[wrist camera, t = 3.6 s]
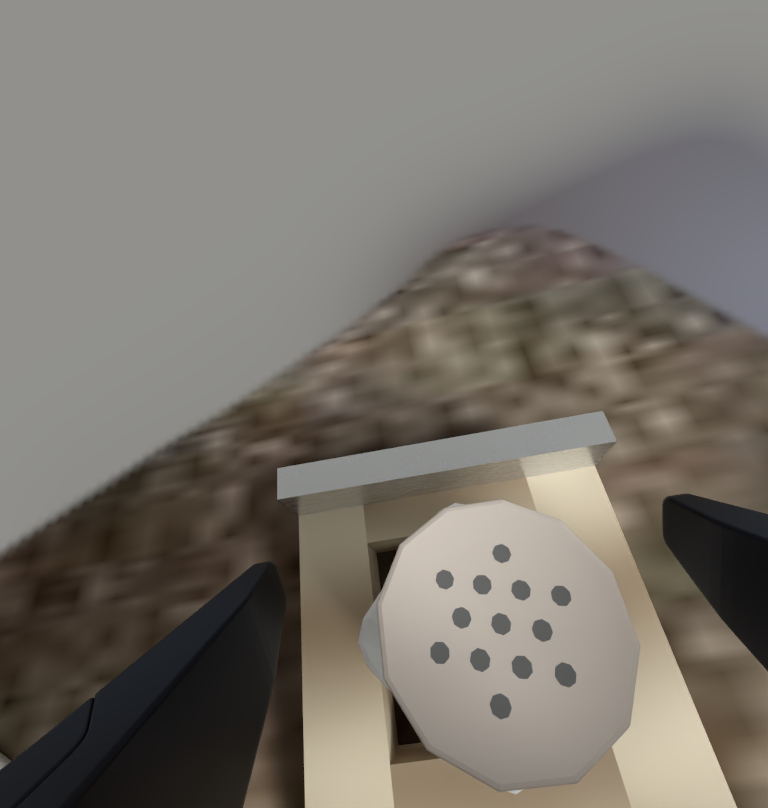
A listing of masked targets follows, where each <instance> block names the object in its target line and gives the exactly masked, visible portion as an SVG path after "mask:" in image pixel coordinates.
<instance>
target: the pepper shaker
mask: <svg viewBox="0 0 768 808" xmlns="http://www.w3.org/2000/svg"><path fill="white" fill-rule="evenodd" d="M358 644H359V647H360V650H361V652H362V655H363V657H364V660H365V663H366V665H367V667H368V668H369V669H370V670H371V671H372V672H373V673H374V674H375V675H376V676H377V677H378V678H379V679H380V680H381V682H382V683H383V684H384V685H385V686H386V687H387V688H388V689H389V690H390V691H391V692H392V694H393V696H394V697H395V699H396V701H397V702H398V704H399V706H400V707H401V709H402V711H403V712H404V714H405V715H406V717H407V719H408V720H409V722H410V724H411V725H412V727H413V729H414V730H415V732H416V734H417V735H418V737H419V739H420V740H421V742H422V743H423V745H424V747H425V748H426V750H427V751H429V752H431V753H432V754H434V755H436V756H438V757H439V758H441V759H443V760H445V761H446V762H448V763H450V764H451V765H453V766H455V767H457V768H458V769H460V770H462V771H464V772H465V773H467V774H469V775H470V776H472V777H474V778H476V779H477V780H479V781H481V782H483V783H484V784H486V785H488V786H490V787H491V788H493V789H495V790H496V791H498V792H504V791H507V792H510V793H513V794H517V793H519V792H520V791H522V790H524V789H532V788H541V787H551V786H560V785H569V784H578V782H579V781H580V780H581V779H582V778H583V777H584V776H585V775H586V774H587V773H588V772H589V771H590V769H591V768H592V767H593V766H594V765H595V764H596V763H597V762H598V761H599V760H600V759H601V758H602V756H603V755H604V754H605V753H606V752H607V751H608V750H609V749H610V748H611V747H612V746H613V744H614V743H615V742H616V741H617V740H618V739H619V738H620V737H621V736H622V735H623V734H624V733H625V731H626V730H627V729H628V728H629V727H630V724H631V716H632V708H633V700H634V693H635V685H636V677H637V669H638V661H639V653H640V643H639V641H638V638H637V635H636V633H635V630H634V627H633V625H632V622H631V619H630V617H629V614H628V611H627V609H626V606H625V603H624V601H623V598H622V595H621V593H620V590H619V587H618V585H617V582H616V579H615V577H614V574H613V571H612V570H611V569H610V568H609V567H608V566H607V565H606V564H605V563H604V562H603V561H602V560H601V559H600V558H599V557H598V556H597V555H596V554H595V553H594V552H593V551H592V550H591V549H590V548H589V547H588V546H587V545H586V544H585V543H584V542H583V541H582V540H581V539H580V538H579V537H578V536H577V535H576V534H575V533H574V532H573V531H572V530H571V529H570V528H569V527H568V526H567V525H566V524H565V523H564V522H563V521H562V520H559V519H556V518H554V517H551V516H548V515H545V514H542V513H539V512H537V511H534V510H531V509H528V508H525V507H523V506H520V505H517V504H514V503H511V502H508V501H506V500H503V499H498V500H491V501H485V502H478V503H472V504H459V503H454V504H452V505H450V506H448V507H446V508H443V509H442V510H441V511H439V512H438V513H437V514H436V515H435V516H434V517H432V518H431V519H430V520H429V521H428V522H426V523H425V524H424V525H423V526H421V527H420V528H419V529H418V530H417V531H415V532H414V533H413V534H412V535H410V536H409V537H408V538H407V539H406V540H404V541H403V542H402V543H401V544H400V545H399V547H398V550H397V552H396V555H395V558H394V560H393V563H392V565H391V568H390V570H389V573H388V576H387V578H386V581H385V583H384V586H383V588H382V590H381V592H380V593H379V595H378V596H377V598H376V599H375V601H374V603H373V604H372V606H371V607H370V609H369V610H368V612H367V613H366V615H365V616H364V618H363V621H362V626H361V630H360V635H359V640H358Z"/></svg>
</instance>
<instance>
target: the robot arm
mask: <svg viewBox="0 0 768 808" xmlns="http://www.w3.org/2000/svg"><path fill="white" fill-rule="evenodd" d="M662 529H663V537H664V540H665V543H666V545H667V546H668V548H669V549H670V550H671V552H672V553H673V554H674V556H675V557H676V559H677V560H678V561H679V563H680V564H681V565H682V567H683V568H684V569H685V571H686V572H687V574H688V575H689V576H690V578H691V579H692V580H693V582H694V583H695V584H696V586H697V587H698V588H699V590H700V591H701V593H702V594H703V595H704V597H705V598H706V599H707V601H708V602H709V603H710V605H711V606H712V607H713V609H714V610H715V611H716V612H717V614H718V615H719V616H720V617H721V619H722V620H723V621H724V622H725V623H726V624H727V626H728V627H729V628H730V629H731V630H732V631H733V633H734V634H735V635H736V636H737V637H738V638H739V639H740V641H741V642H742V643H743V644H744V645H745V646H746V647H747V648H748V650H749V651H750V652H751V653H752V654H753V655H754V656H755V657H756V659H757V660H758V661H759V662H760V663H761V664H762V665H763V667H764V668H765V669H766V670H767V671H768V514H765V513H761V512H757V511H753V510H749V509H745V508H741V507H738V506H734V505H730V504H726V503H722V502H718V501H714V500H710V499H706V498H703V497H699V496H695V495H691V494H680V495H674V496H668V497H666V498H665V499H664V500H663V502H662ZM285 608H286V596H285V592H284V588H283V585H282V582H281V578H280V575H279V572H278V569H277V566H276V565H275V563H274V562H264V563H258V564H255V565H253V566H252V567H250V568H249V569H248V570H247V571H245V572H244V573H243V574H242V575H241V576H239V577H238V578H237V579H236V580H234V581H233V582H232V583H231V584H230V585H228V586H227V587H226V588H225V589H223V590H222V591H221V592H220V593H219V594H217V595H216V596H215V597H214V598H212V599H211V600H210V601H209V602H208V603H206V604H205V605H204V606H203V607H201V608H200V609H199V610H198V611H197V612H195V613H194V614H193V615H192V616H190V617H189V618H188V619H187V620H186V621H184V622H183V623H182V624H181V625H179V626H178V627H177V628H176V629H175V630H173V631H172V632H171V633H170V634H168V635H167V636H166V637H165V638H164V639H162V640H161V641H160V642H159V643H157V644H156V645H155V646H154V647H153V648H151V649H150V650H149V651H148V652H146V653H145V654H144V655H143V656H142V657H140V658H139V659H138V660H137V661H135V662H134V663H133V664H132V665H131V666H129V667H128V668H127V669H126V670H124V671H123V672H122V673H121V674H120V675H118V676H117V677H116V678H115V679H113V680H112V681H111V682H110V683H109V684H107V685H106V686H105V687H104V688H102V689H101V690H100V691H99V692H98V693H97V694H96V695H95V698H90V699H89V700H88V701H86V702H85V703H84V704H83V705H82V706H80V707H79V708H78V709H77V710H75V711H74V712H73V713H72V714H71V715H69V716H68V717H67V718H66V719H64V720H63V721H62V722H61V723H59V724H58V725H57V726H56V727H54V728H53V729H52V730H51V731H49V732H48V733H47V734H46V735H44V736H43V737H42V738H41V739H39V740H38V741H37V742H36V743H34V744H33V745H32V746H31V747H29V748H28V749H27V750H25V751H24V752H23V753H22V754H20V755H19V756H18V757H16V758H15V759H14V760H12V761H11V762H10V763H8V764H7V765H6V766H4V767H3V768H2V769H1V770H0V808H243V805H244V801H245V797H246V793H247V789H248V785H249V781H250V777H251V774H252V770H253V766H254V762H255V758H256V754H257V750H258V746H259V742H260V738H261V734H262V730H263V726H264V722H265V718H266V714H267V710H268V706H269V702H270V698H271V694H272V690H273V685H274V681H275V675H276V669H277V662H278V656H279V649H280V642H281V635H282V628H283V621H284V615H285Z"/></svg>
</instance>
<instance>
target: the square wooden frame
mask: <svg viewBox="0 0 768 808" xmlns="http://www.w3.org/2000/svg"><path fill="white" fill-rule="evenodd" d="M616 442H617V441H616V439H615V436H614V434H613V432H612V430H611V428H610V425H609V423H608V421H607V419H606V417H605V415H604V412H603V411H600V412H594V413H588V414H583V415H577V416H571V417H566V418H560V419H554V420H549V421H543V422H537V423H532V424H526V425H520V426H515V427H509V428H503V429H498V430H492V431H486V432H481V433H475V434H469V435H464V436H458V437H452V438H447V439H441V440H435V441H429V442H424V443H418V444H412V445H407V446H401V447H395V448H390V449H384V450H378V451H373V452H367V453H361V454H356V455H350V456H344V457H339V458H333V459H327V460H322V461H316V462H310V463H305V464H299V465H293V466H288V467H282V468H277V500H278V501H280V502H281V503H282V504H284V505H285V506H286V507H288V508H289V509H290V510H292V511H293V512H294V513H296V514H297V515H298V516H299V550H300V596H301V643H302V690H303V737H304V783H305V808H737V807H736V804H735V802H734V799H733V797H732V794H731V792H730V790H729V787H728V785H727V782H726V780H725V778H724V775H723V773H722V770H721V768H720V766H719V763H718V761H717V758H716V756H715V754H714V751H713V749H712V746H711V744H710V742H709V739H708V737H707V734H706V732H705V730H704V727H703V725H702V722H701V720H700V718H699V715H698V713H697V710H696V708H695V706H694V703H693V701H692V698H691V696H690V693H689V691H688V689H687V686H686V684H685V681H684V679H683V677H682V674H681V672H680V669H679V667H678V665H677V662H676V660H675V657H674V655H673V653H672V650H671V648H670V645H669V643H668V641H667V638H666V636H665V633H664V631H663V629H662V626H661V624H660V621H659V619H658V617H657V614H656V612H655V609H654V607H653V605H652V602H651V600H650V597H649V595H648V592H647V590H646V588H645V585H644V583H643V580H642V578H641V576H640V573H639V571H638V568H637V566H636V564H635V561H634V559H633V556H632V554H631V552H630V549H629V547H628V544H627V542H626V540H625V537H624V535H623V532H622V530H621V528H620V525H619V523H618V520H617V518H616V516H615V513H614V511H613V508H612V506H611V504H610V501H609V499H608V496H607V494H606V491H605V489H604V487H603V484H602V482H601V479H600V477H599V475H598V472H597V470H596V467H595V465H596V464H597V463H598V462H599V461H600V460H601V459H602V457H603V456H604V455H605V454H606V453H607V452H608V451H609V450H610V448H611V447H612V446H613V445H614V444H615V443H616ZM498 499H503V500H506V501H508V502H511V503H514V504H517V505H520V506H523V507H525V508H528V509H531V510H534V511H537V512H539V513H542V514H545V515H548V516H551V517H554V518H556V519H559V520H562V521H563V522H564V523H565V524H566V525H567V526H568V527H569V528H570V529H571V530H572V531H573V532H574V533H575V534H576V535H577V536H578V537H579V538H580V539H581V540H582V541H583V542H584V543H585V544H586V545H587V546H588V547H589V548H590V549H591V550H592V551H593V552H594V553H595V554H596V555H597V556H598V557H599V558H600V559H601V560H602V561H603V562H604V563H605V564H606V565H607V566H608V567H609V568H610V569H611V570H612V571H613V574H614V577H615V579H616V582H617V585H618V587H619V590H620V593H621V595H622V598H623V601H624V603H625V606H626V609H627V611H628V614H629V617H630V619H631V622H632V625H633V627H634V630H635V633H636V635H637V638H638V641H639V643H640V653H639V661H638V669H637V677H636V685H635V693H634V700H633V708H632V716H631V724H630V727H629V728H628V729H627V730H626V731H625V733H624V734H623V735H622V736H621V737H620V738H619V739H618V740H617V741H616V742H615V743H614V744H613V746H612V747H611V748H610V749H609V750H608V751H607V752H606V753H605V754H604V755H603V756H602V758H601V759H600V760H599V761H598V762H597V763H596V764H595V765H594V766H593V767H592V768H591V769H590V771H589V772H588V773H587V774H586V775H585V776H584V777H583V778H582V779H581V780H580V781H579V782H578V784H569V785H560V786H551V787H541V788H532V789H524V790H522V791H520V792H519V793H517V794H513V793H510V792H507V791H504V792H498V791H496V790H495V789H493V788H491V787H490V786H488V785H486V784H484V783H483V782H481V781H479V780H477V779H476V778H474V777H472V776H470V775H469V774H467V773H465V772H464V771H462V770H460V769H458V768H457V767H455V766H453V765H451V764H450V763H448V762H446V761H445V760H443V759H441V758H439V757H438V756H436V755H434V754H432V753H431V752H429V751H427V750H426V748H425V747H424V745H423V743H422V742H421V743H413V744H406V745H398V737H397V728H396V719H395V710H394V701H393V694H392V692H391V691H390V690H389V689H388V688H387V687H386V686H385V685H384V684H383V683H382V682H381V680H380V679H379V678H378V677H377V676H376V675H375V674H374V673H373V672H372V671H371V670H370V669H369V668H368V667H367V665H366V663H365V660H364V657H363V655H362V652H361V650H360V647H359V644H358V640H359V635H360V630H361V626H362V621H363V618H364V616H365V615H366V613H367V612H368V610H369V609H370V607H371V606H372V604H373V603H374V601H375V599H376V598H377V596H378V595H379V593H380V592H381V586H380V578H379V569H378V560H377V553H381V552H387V551H393V550H398V547H399V545H400V544H401V543H402V542H403V541H404V540H406V539H407V538H408V537H409V536H410V535H412V534H413V533H414V532H415V531H417V530H418V529H419V528H420V527H421V526H423V525H424V524H425V523H426V522H428V521H429V520H430V519H431V518H432V517H434V516H435V515H436V514H437V513H438V512H439V511H441V510H442V509H443V508H446V507H448V506H450V505H452V504H454V503H459V504H472V503H478V502H485V501H491V500H498Z"/></svg>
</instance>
